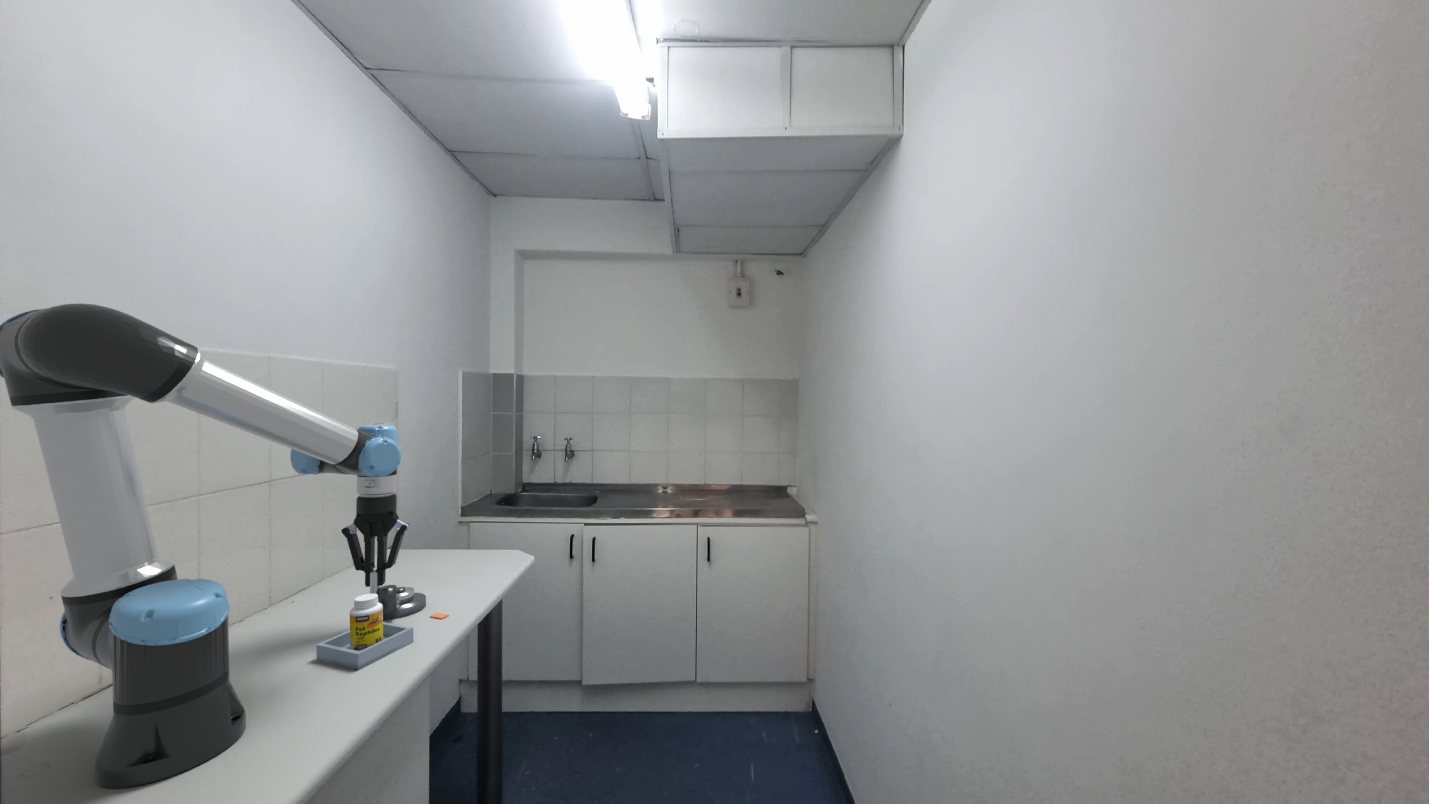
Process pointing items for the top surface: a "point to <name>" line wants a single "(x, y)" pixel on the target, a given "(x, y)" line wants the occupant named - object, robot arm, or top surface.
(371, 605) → the supplement bottle
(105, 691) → the top surface
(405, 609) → the crank housing
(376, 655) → the tray
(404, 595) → the crank
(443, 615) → the orange flat block
